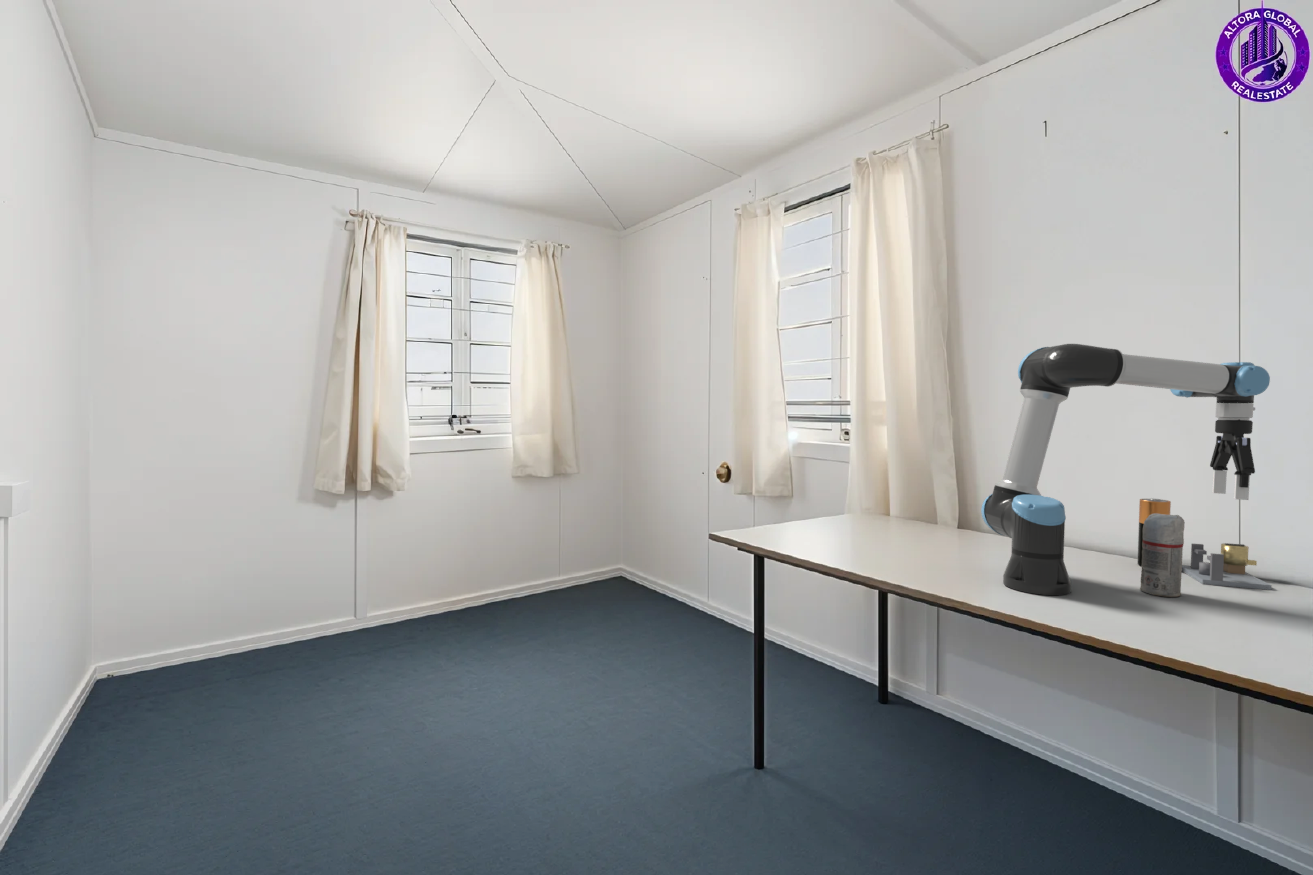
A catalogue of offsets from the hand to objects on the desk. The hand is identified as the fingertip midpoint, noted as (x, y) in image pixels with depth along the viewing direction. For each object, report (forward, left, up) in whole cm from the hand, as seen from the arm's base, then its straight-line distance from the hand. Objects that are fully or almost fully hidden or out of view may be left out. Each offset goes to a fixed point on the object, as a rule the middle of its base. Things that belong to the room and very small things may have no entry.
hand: (1229, 496), depth 173 cm
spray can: (-22, -26, -23) cm, 41 cm away
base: (-2, -3, -22) cm, 23 cm away
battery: (-15, +6, -23) cm, 28 cm away
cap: (+2, +1, -19) cm, 19 cm away
